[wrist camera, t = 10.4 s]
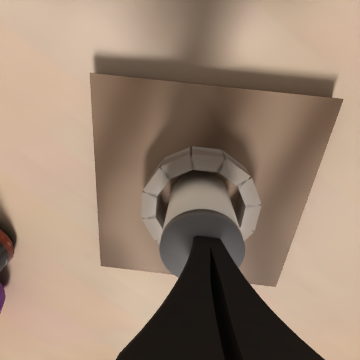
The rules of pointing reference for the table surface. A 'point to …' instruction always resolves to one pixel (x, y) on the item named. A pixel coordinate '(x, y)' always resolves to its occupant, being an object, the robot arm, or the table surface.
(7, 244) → the supplement bottle
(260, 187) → the board with ring socket
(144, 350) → the robot arm
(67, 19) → the table surface
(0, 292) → the kendama
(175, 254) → the plug
